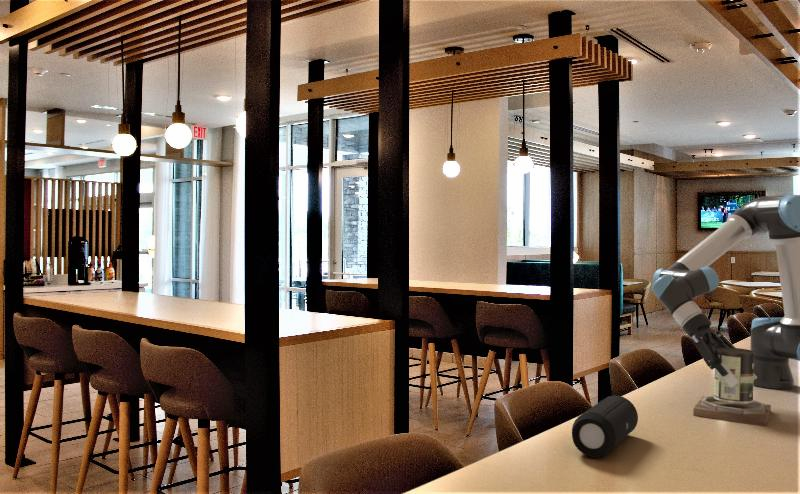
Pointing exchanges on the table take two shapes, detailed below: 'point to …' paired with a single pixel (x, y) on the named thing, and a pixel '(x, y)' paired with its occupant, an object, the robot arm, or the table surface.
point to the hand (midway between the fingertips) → (744, 382)
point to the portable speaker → (604, 426)
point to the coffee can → (742, 369)
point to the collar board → (733, 411)
